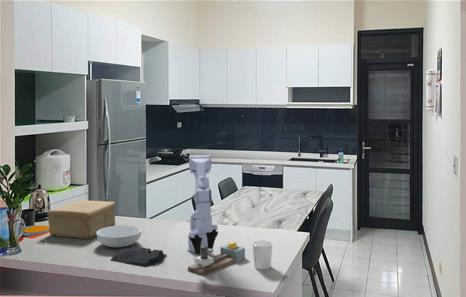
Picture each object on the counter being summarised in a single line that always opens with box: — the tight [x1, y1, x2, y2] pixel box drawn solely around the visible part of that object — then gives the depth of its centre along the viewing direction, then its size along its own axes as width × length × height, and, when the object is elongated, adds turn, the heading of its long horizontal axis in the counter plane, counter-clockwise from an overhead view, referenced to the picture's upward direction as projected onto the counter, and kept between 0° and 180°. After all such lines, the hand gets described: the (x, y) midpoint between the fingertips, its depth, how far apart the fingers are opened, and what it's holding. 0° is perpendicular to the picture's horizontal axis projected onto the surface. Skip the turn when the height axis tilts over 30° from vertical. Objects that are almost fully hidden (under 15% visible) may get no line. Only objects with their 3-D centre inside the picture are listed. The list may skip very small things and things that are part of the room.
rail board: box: [187, 253, 236, 276], centre depth 197 cm, size 9×20×2 cm, turn 140°
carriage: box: [194, 246, 214, 267], centre depth 192 cm, size 6×5×8 cm
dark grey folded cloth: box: [110, 246, 168, 268], centre depth 206 cm, size 15×22×5 cm
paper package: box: [46, 199, 116, 240], centre depth 249 cm, size 27×26×14 cm
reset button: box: [227, 241, 238, 250], centre depth 206 cm, size 4×4×4 cm
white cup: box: [252, 240, 273, 271], centre depth 194 cm, size 8×8×10 cm
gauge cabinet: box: [219, 244, 246, 262], centre depth 206 cm, size 9×6×4 cm, turn 50°
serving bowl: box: [96, 224, 142, 249], centre depth 226 cm, size 21×21×7 cm
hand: (204, 250), depth 192 cm, fingers open, 7 cm apart
